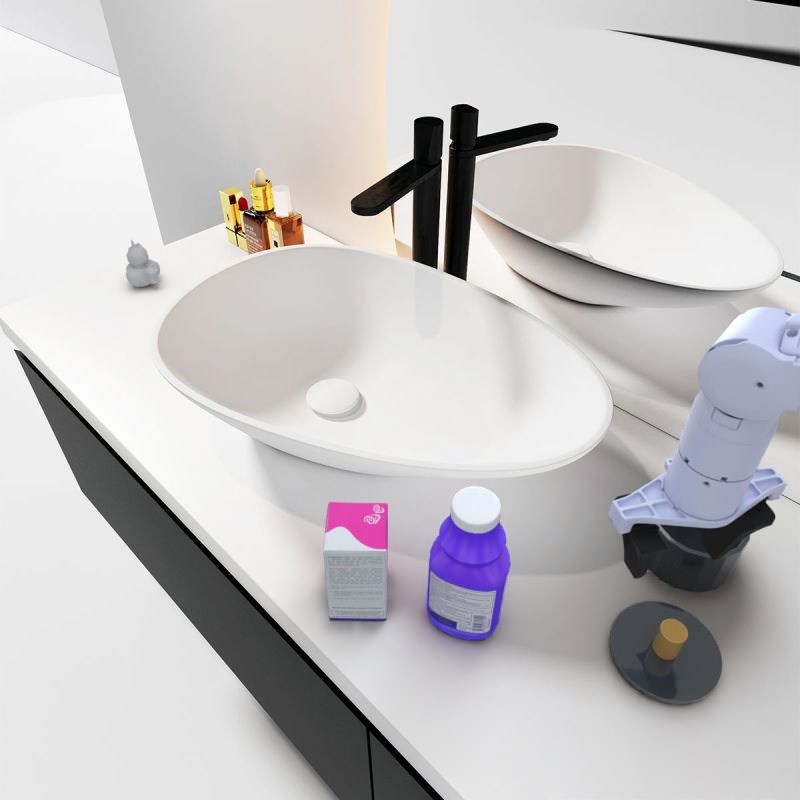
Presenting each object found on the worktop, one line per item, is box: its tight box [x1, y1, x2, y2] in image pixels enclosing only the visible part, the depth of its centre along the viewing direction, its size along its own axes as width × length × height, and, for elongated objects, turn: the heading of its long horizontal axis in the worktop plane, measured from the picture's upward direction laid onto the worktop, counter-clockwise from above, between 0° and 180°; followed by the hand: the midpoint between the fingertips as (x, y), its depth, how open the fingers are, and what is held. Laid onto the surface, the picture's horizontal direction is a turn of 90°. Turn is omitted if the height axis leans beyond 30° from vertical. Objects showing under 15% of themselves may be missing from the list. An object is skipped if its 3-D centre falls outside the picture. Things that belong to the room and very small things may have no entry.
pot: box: [648, 524, 751, 593], centre depth 72 cm, size 9×9×6 cm
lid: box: [608, 600, 723, 705], centre depth 64 cm, size 10×10×4 cm
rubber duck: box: [125, 239, 161, 288], centre depth 111 cm, size 5×7×8 cm
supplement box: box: [322, 501, 389, 622], centre depth 66 cm, size 6×6×12 cm
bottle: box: [426, 485, 511, 641], centre depth 63 cm, size 7×6×17 cm
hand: (671, 559), depth 62 cm, fingers open, 7 cm apart
